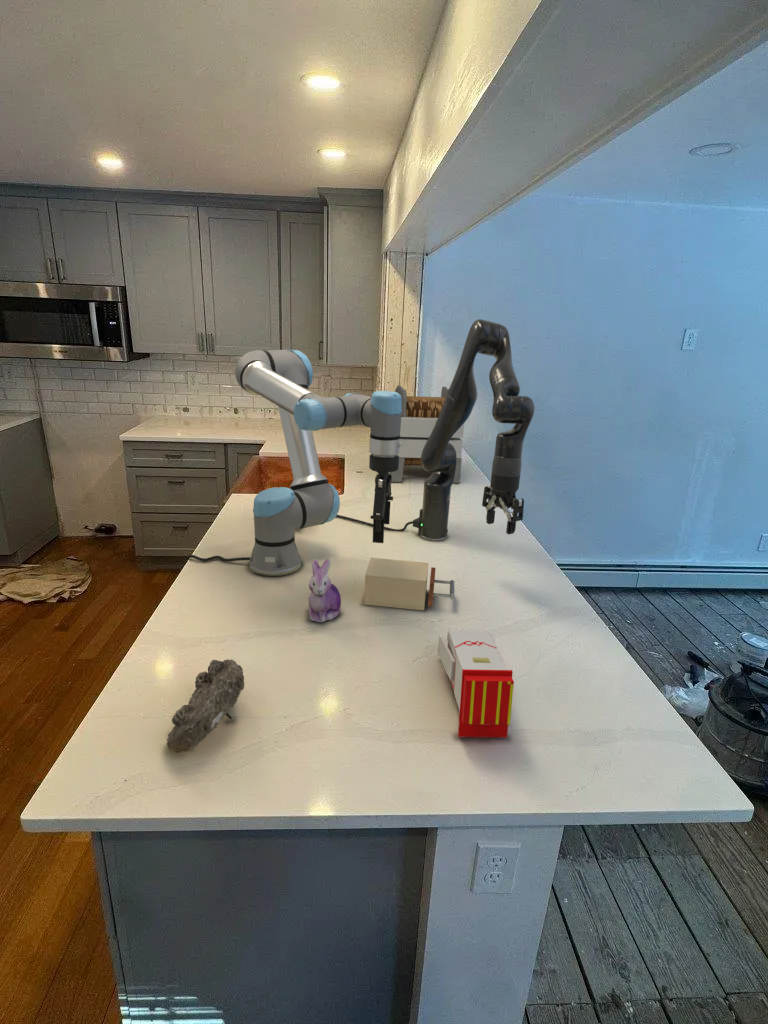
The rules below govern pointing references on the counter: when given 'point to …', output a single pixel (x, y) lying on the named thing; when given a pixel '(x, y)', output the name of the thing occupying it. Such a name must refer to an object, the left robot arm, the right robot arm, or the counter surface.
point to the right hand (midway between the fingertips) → (499, 528)
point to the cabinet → (396, 583)
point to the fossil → (206, 705)
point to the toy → (478, 682)
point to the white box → (421, 430)
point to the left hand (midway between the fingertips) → (381, 532)
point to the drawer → (431, 593)
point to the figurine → (323, 594)
